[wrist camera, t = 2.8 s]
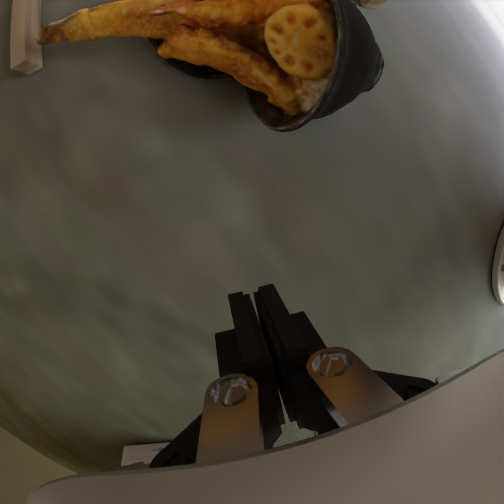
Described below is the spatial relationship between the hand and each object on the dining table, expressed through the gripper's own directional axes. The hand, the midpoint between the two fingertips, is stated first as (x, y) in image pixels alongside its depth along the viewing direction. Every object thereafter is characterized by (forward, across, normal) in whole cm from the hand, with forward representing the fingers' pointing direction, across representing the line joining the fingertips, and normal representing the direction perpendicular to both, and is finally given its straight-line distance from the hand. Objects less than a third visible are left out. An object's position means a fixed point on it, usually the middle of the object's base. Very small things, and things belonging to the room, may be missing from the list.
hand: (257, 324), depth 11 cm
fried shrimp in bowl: (+9, -1, -13) cm, 16 cm away
